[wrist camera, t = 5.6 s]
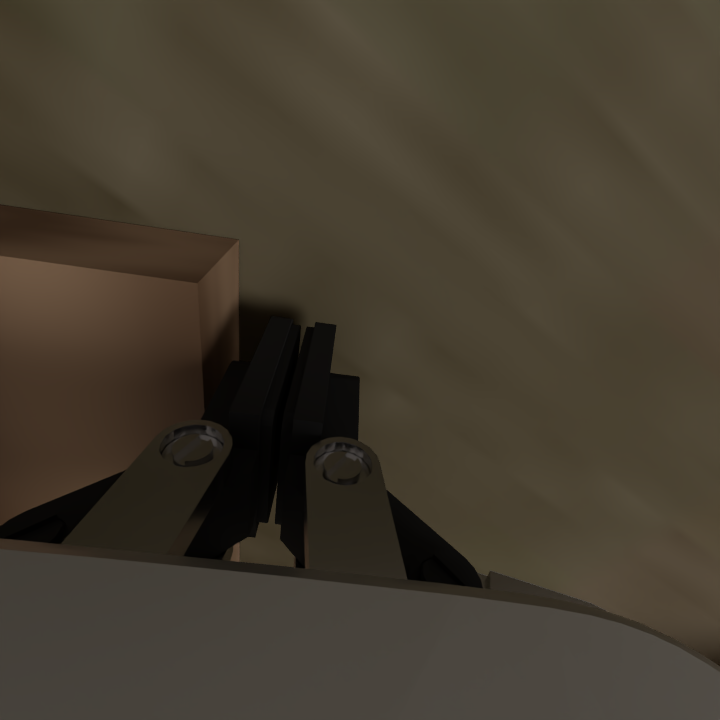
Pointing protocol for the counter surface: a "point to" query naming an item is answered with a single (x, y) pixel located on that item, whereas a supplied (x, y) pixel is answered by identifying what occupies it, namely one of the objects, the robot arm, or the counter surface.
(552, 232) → the counter surface
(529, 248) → the counter surface
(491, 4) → the counter surface
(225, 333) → the plank with square hole
